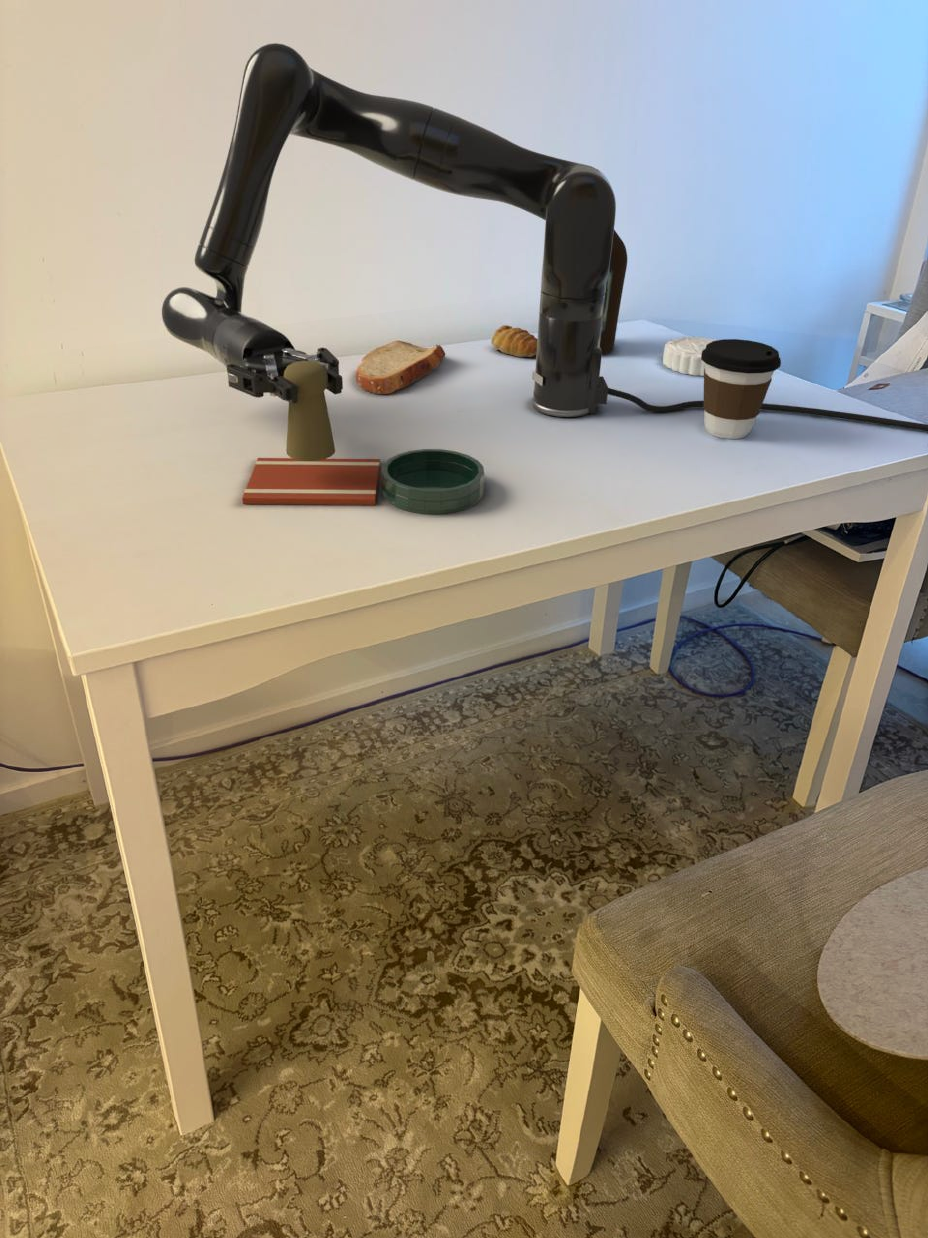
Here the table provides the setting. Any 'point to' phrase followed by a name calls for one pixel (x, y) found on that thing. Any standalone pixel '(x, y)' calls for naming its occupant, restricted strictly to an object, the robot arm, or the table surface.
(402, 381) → the slice of bread
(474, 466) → the dish
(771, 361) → the coffee cup
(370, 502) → the towel
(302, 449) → the cork
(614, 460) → the table surface
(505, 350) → the pastry
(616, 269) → the olive oil
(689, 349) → the mooncake
